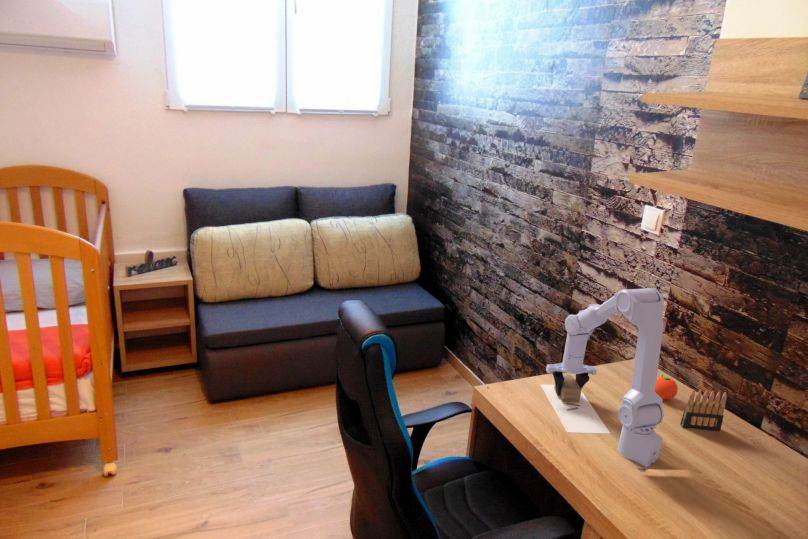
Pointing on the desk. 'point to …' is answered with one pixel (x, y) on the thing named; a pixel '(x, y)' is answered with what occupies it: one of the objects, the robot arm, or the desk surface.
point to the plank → (575, 413)
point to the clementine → (666, 387)
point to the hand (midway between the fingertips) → (566, 394)
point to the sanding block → (569, 390)
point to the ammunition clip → (704, 412)
